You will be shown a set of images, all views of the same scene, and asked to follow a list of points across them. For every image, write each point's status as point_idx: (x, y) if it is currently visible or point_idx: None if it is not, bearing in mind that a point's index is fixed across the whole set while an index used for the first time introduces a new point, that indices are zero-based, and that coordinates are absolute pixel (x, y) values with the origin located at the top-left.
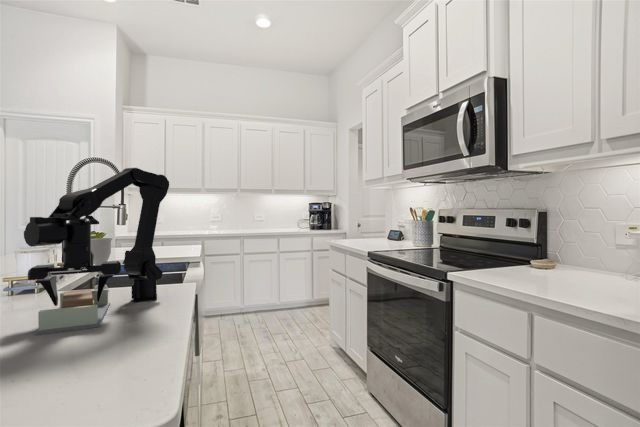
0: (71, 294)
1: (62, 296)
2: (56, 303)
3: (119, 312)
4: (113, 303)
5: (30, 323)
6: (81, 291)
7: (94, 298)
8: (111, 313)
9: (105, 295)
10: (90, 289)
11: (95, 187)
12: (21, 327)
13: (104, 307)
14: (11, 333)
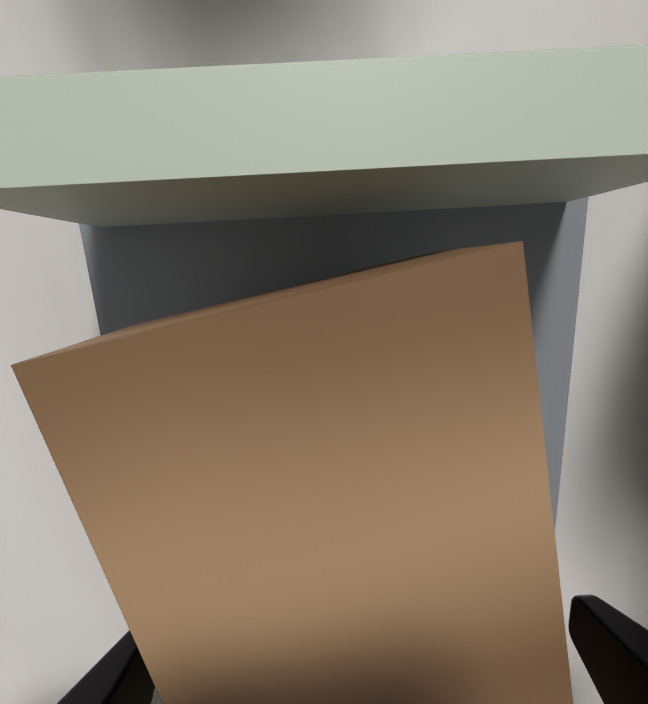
0: (257, 642)
1: (11, 205)
2: (150, 697)
3: (643, 455)
4: (602, 46)
5: (33, 523)
6: (369, 461)
7: (470, 194)
8: (583, 462)
9: (637, 175)
10: (516, 319)
11: None
12: (23, 597)
13: (542, 346)
14: (33, 693)
